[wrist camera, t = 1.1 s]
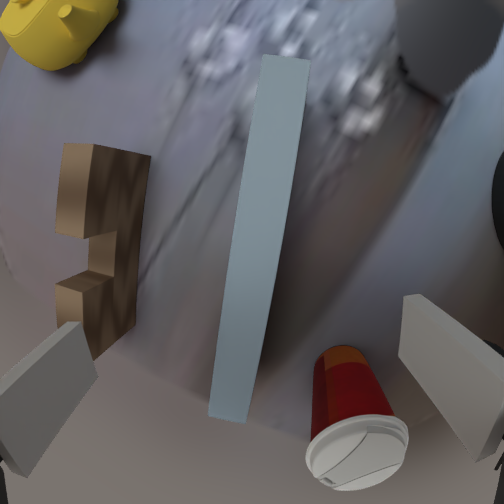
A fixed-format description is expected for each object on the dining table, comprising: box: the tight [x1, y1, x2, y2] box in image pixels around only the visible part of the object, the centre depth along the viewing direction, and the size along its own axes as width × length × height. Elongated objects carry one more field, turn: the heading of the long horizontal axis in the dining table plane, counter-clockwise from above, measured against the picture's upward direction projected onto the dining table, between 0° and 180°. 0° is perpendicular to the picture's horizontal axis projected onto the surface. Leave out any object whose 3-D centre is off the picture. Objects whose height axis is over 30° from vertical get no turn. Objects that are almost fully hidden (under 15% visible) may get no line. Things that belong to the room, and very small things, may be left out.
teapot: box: [0, 0, 119, 71], centre depth 21 cm, size 13×20×12 cm
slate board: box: [208, 54, 311, 424], centre depth 24 cm, size 26×3×10 cm, turn 171°
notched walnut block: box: [55, 143, 151, 361], centre depth 26 cm, size 18×3×10 cm, turn 171°
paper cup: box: [305, 345, 409, 491], centre depth 24 cm, size 8×8×14 cm
